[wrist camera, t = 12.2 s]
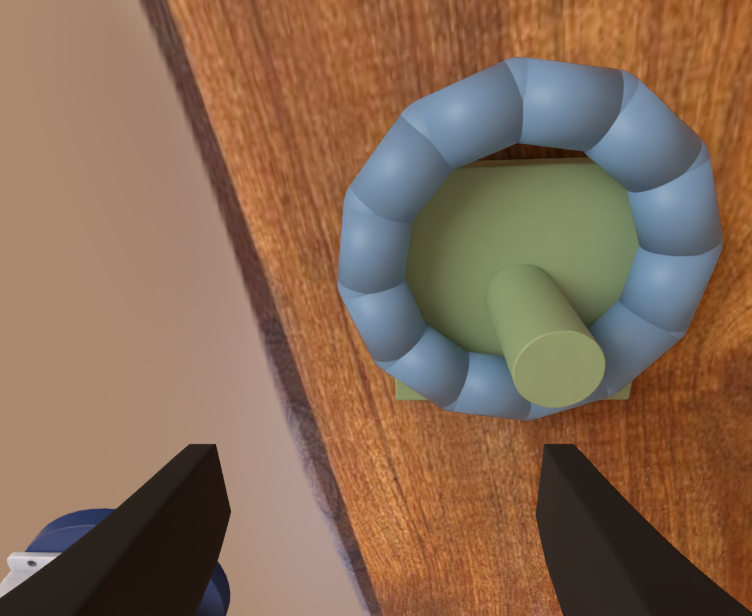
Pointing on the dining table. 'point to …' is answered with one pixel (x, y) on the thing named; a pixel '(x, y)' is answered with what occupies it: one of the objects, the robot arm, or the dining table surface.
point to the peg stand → (525, 269)
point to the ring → (542, 128)
